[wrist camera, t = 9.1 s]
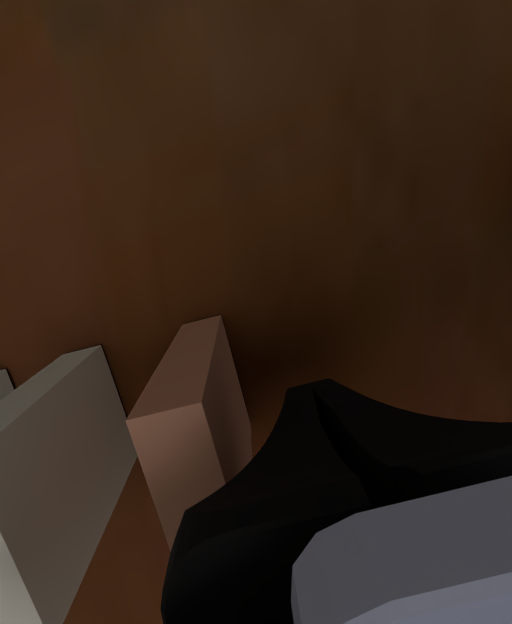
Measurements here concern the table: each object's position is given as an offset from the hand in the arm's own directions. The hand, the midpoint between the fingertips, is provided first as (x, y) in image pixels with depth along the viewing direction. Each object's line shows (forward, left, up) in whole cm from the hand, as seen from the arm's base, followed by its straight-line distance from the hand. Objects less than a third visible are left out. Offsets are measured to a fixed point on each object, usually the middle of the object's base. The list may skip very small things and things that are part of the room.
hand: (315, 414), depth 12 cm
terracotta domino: (+3, 0, -5) cm, 6 cm away
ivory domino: (+8, 0, -5) cm, 10 cm away
